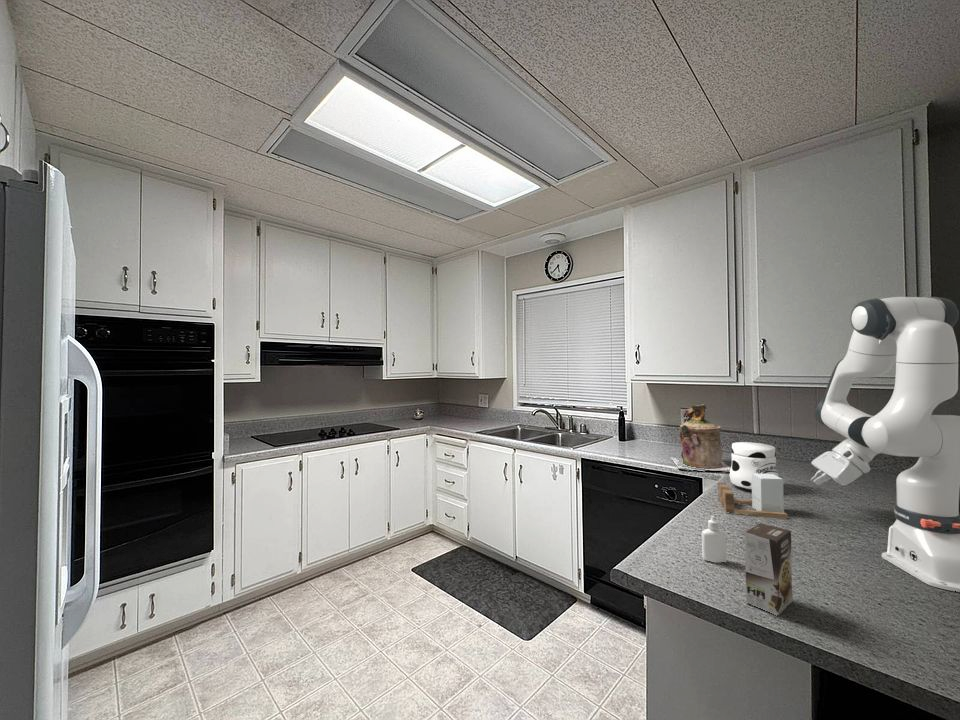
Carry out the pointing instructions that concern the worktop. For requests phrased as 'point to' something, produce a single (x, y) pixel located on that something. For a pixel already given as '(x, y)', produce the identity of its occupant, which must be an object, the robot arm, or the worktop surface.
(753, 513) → the guide rails
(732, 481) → the milk container
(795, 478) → the worktop surface
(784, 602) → the coffee box
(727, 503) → the stop board
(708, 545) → the eye dropper bottle
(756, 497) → the supplement box
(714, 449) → the cookie jar
